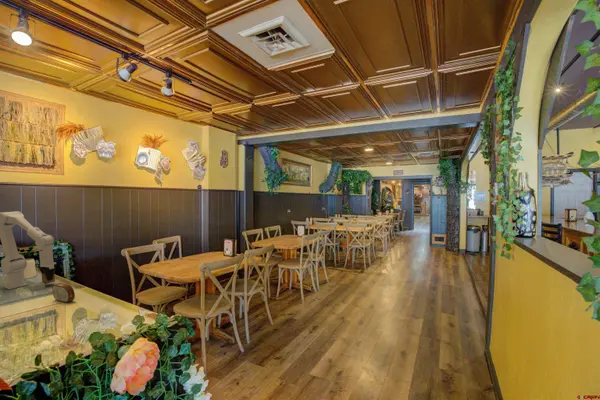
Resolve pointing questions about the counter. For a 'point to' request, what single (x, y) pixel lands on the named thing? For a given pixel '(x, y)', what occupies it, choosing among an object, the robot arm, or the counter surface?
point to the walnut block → (46, 279)
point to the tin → (63, 292)
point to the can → (30, 269)
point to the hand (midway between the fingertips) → (48, 279)
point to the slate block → (37, 286)
